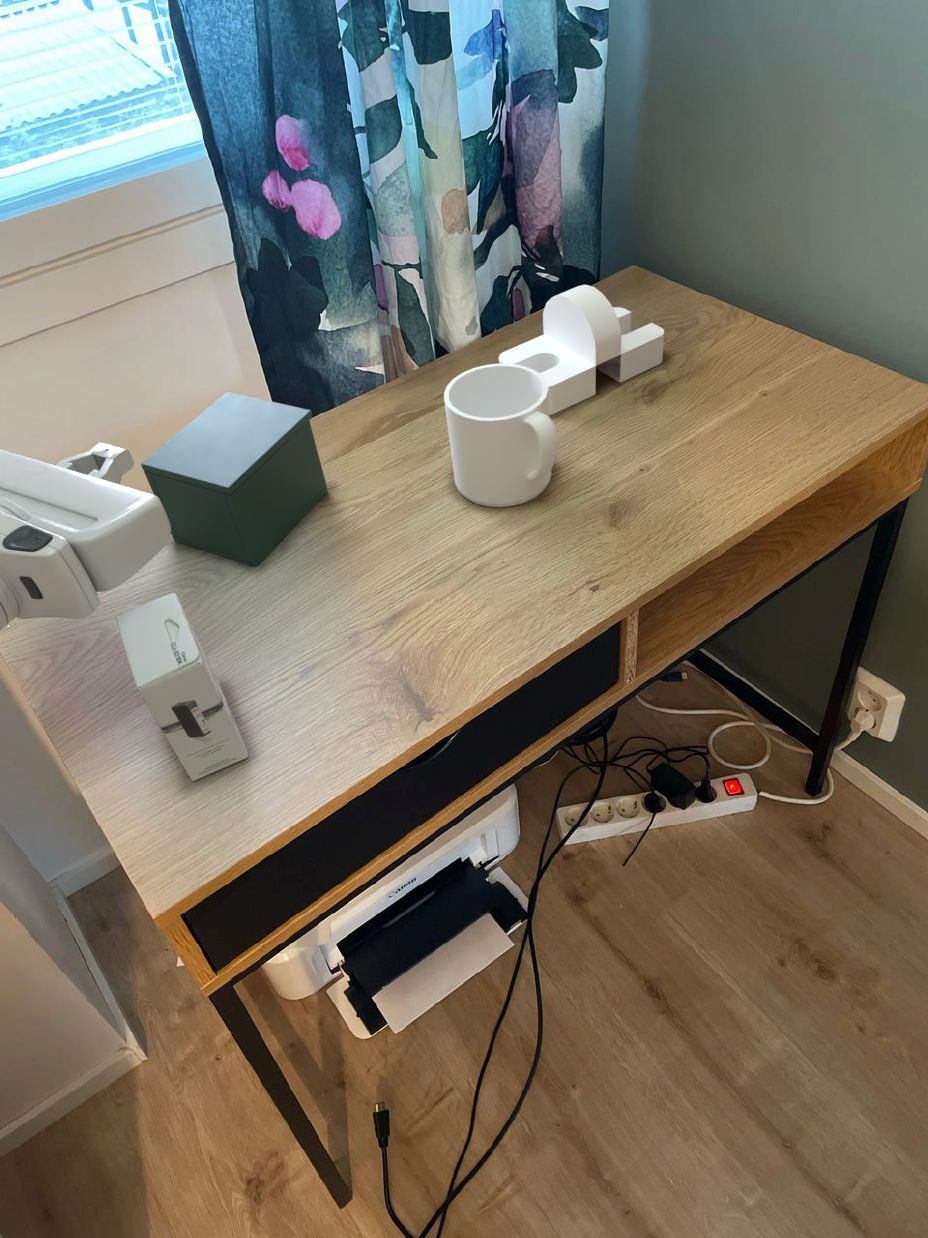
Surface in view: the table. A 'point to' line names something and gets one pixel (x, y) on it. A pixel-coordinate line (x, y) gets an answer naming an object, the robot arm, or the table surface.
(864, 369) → the table surface
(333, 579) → the table surface
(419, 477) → the table surface
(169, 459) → the lid
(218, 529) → the chest
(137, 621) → the ink box
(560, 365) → the slotted bracket
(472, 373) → the mug
